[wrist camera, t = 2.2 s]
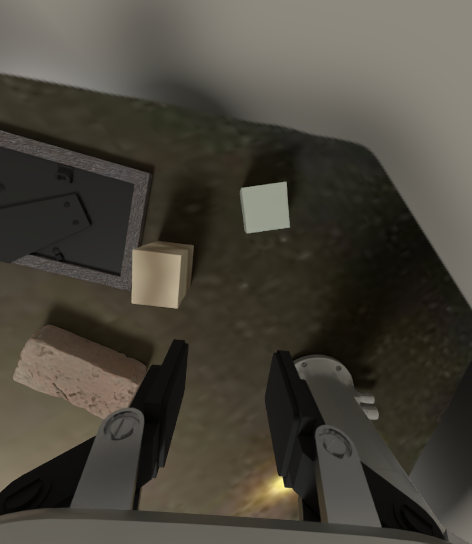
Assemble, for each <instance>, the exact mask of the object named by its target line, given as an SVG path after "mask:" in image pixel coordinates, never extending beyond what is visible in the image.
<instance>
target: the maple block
mask: <svg viewBox="0 0 472 544" xmlns="http://www.w3.org/2000/svg"><path fill="white" fill-rule="evenodd" d="M193 249H194V245H186V244H178V243H170V242H162V241H156V242H153V243H150V244H147V245H144V246H141V247H138V248H135V249H133V252H132V303H133V304H142V305H151V306H160V307H169V308H178V307H179V305H180V303H181V302H182V300H183V298H184V296H185V295H186V293H187V291H188V290H189V288H190V285H191V273H192V261H193Z"/></svg>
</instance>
